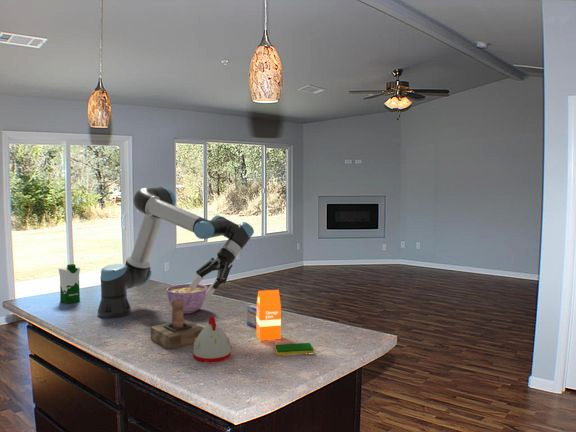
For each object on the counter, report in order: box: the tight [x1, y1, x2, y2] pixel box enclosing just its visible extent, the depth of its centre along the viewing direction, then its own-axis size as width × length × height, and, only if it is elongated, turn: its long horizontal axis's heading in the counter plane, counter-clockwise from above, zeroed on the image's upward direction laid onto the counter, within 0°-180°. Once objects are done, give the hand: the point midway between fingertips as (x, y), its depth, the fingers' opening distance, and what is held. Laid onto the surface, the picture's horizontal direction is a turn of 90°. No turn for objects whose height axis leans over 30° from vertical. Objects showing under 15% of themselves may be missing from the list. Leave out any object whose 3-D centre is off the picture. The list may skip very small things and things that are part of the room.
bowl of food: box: [166, 283, 208, 315], centre depth 235 cm, size 20×20×12 cm
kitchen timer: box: [192, 315, 232, 364], centre depth 176 cm, size 14×14×15 cm
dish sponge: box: [274, 342, 315, 356], centre depth 182 cm, size 7×14×2 cm, turn 100°
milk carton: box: [58, 263, 81, 305], centre depth 250 cm, size 9×9×20 cm
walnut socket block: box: [150, 319, 205, 350], centre depth 194 cm, size 16×16×6 cm
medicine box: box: [246, 304, 257, 329], centre depth 213 cm, size 8×4×9 cm, turn 47°
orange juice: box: [256, 289, 282, 342], centre depth 197 cm, size 8×9×20 cm
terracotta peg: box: [171, 300, 184, 329], centre depth 193 cm, size 4×4×16 cm
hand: (199, 291), depth 199 cm, fingers open, 13 cm apart
